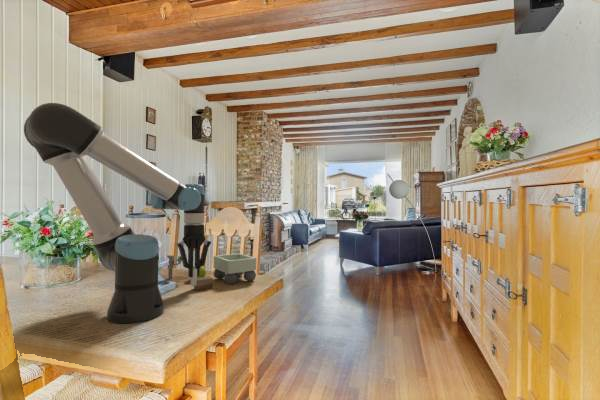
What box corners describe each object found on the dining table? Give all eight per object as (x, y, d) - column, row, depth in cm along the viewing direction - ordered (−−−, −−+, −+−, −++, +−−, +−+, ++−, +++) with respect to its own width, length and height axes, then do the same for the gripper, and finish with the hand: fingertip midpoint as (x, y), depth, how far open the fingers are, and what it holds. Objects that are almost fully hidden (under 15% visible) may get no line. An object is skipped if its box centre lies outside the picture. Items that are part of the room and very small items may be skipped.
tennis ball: (204, 277, 143) (204, 262, 144) (207, 280, 138) (207, 265, 138) (188, 279, 140) (188, 263, 140) (191, 282, 134) (191, 266, 134)
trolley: (256, 281, 138) (257, 258, 138) (227, 285, 130) (227, 261, 130) (240, 274, 150) (241, 253, 150) (212, 278, 142) (212, 256, 142)
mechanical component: (180, 279, 139) (180, 256, 139) (157, 279, 139) (157, 256, 139) (183, 278, 142) (183, 255, 142) (160, 277, 142) (160, 255, 142)
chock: (212, 288, 126) (212, 278, 126) (197, 290, 122) (197, 280, 122) (208, 286, 129) (208, 276, 129) (193, 288, 125) (194, 278, 125)
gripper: (206, 222, 130) (206, 280, 130) (173, 224, 122) (173, 285, 122) (214, 224, 124) (213, 284, 124) (180, 225, 116) (179, 290, 116)
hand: (193, 285), depth 123 cm, fingers closed
